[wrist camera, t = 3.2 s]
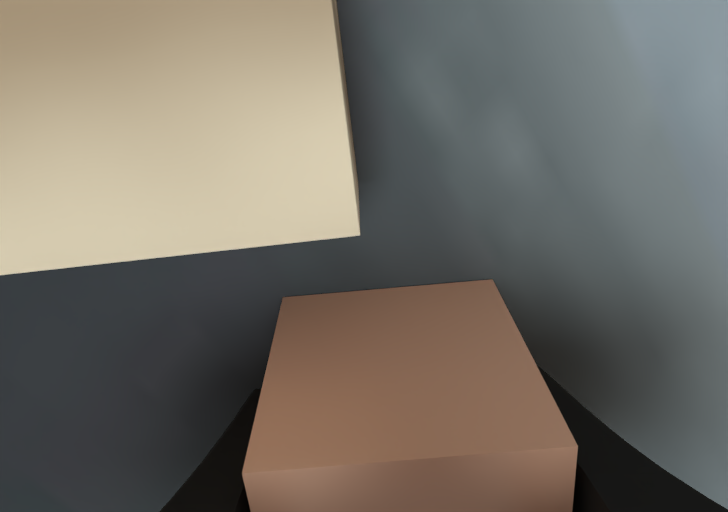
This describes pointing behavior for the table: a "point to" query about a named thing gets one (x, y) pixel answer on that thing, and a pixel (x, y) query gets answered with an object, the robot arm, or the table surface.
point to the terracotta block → (406, 408)
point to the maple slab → (170, 129)
